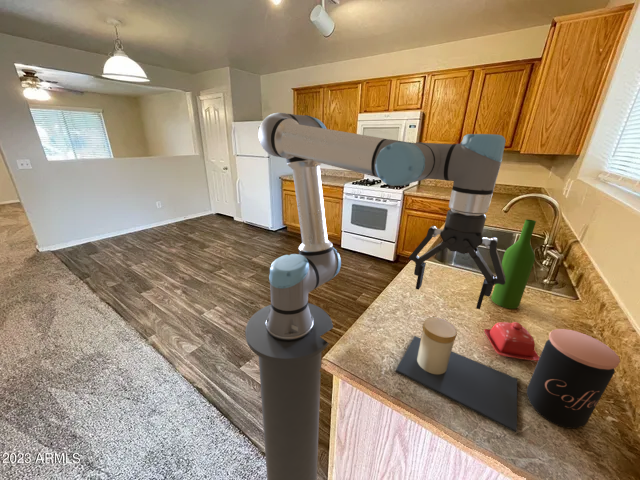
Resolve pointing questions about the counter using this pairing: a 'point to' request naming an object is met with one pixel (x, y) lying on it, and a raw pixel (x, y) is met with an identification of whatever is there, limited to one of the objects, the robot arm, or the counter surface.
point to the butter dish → (512, 341)
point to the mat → (468, 385)
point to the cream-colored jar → (434, 355)
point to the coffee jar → (571, 377)
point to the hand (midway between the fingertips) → (446, 296)
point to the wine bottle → (516, 269)
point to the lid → (439, 330)
